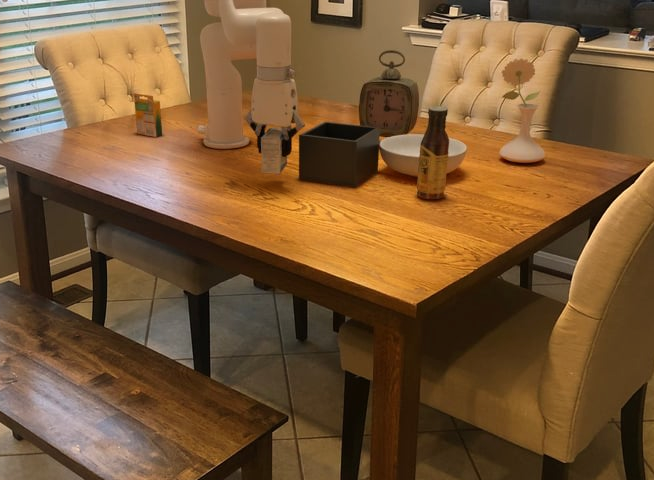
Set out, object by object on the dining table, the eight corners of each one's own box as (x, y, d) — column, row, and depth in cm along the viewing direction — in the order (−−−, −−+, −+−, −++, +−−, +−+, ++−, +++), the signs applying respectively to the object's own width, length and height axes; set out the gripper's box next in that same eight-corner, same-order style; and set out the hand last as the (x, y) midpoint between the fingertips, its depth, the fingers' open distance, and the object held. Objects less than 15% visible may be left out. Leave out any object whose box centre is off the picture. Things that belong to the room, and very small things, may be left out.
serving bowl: (411, 190, 186) (412, 160, 183) (362, 167, 203) (363, 140, 200) (482, 177, 195) (485, 149, 192) (430, 156, 212) (431, 130, 208)
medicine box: (280, 175, 185) (280, 137, 181) (261, 173, 186) (260, 136, 182) (287, 164, 192) (287, 128, 188) (268, 163, 193) (268, 127, 189)
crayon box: (163, 135, 233) (159, 94, 228) (156, 137, 231) (152, 96, 226) (143, 132, 237) (140, 91, 231) (136, 134, 234) (133, 93, 229)
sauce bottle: (413, 192, 185) (419, 104, 176) (440, 191, 185) (447, 103, 176) (420, 201, 179) (426, 111, 170) (447, 200, 180) (455, 110, 171)
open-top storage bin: (298, 179, 194) (298, 134, 189) (324, 164, 206) (324, 121, 201) (355, 187, 188) (356, 141, 183) (378, 171, 200) (380, 127, 195)
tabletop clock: (357, 147, 220) (360, 51, 209) (367, 139, 228) (370, 46, 216) (409, 152, 215) (415, 54, 204) (417, 144, 223) (424, 49, 211)
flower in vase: (547, 157, 210) (561, 56, 199) (540, 168, 201) (554, 64, 190) (497, 151, 215) (507, 53, 204) (487, 162, 206) (498, 60, 195)
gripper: (316, 73, 178) (314, 154, 187) (248, 66, 185) (249, 144, 194) (301, 80, 172) (300, 163, 181) (231, 72, 179) (234, 152, 188)
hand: (274, 152), depth 187 cm, fingers closed on medicine box, 5 cm apart
